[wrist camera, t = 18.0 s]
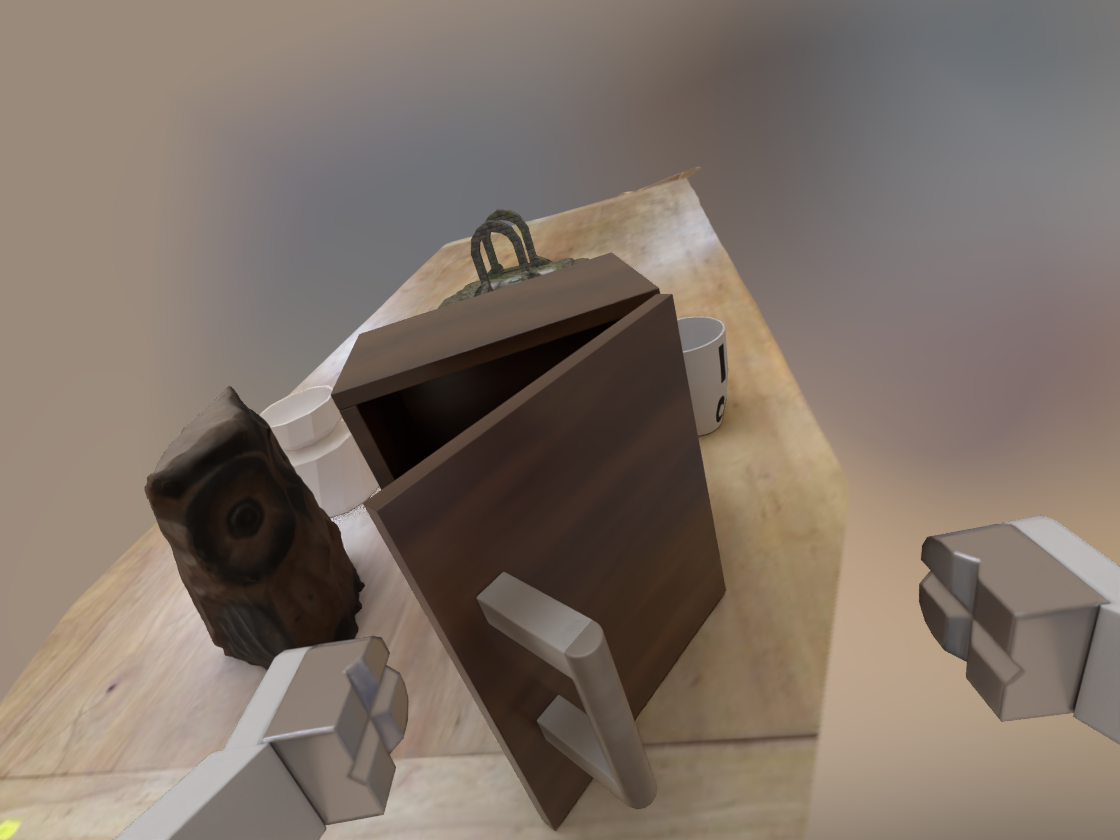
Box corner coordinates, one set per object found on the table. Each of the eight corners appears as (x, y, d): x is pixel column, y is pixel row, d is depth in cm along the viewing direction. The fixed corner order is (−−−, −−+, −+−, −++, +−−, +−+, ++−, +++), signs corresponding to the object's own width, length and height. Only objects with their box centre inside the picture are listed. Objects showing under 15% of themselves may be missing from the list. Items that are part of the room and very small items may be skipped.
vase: (303, 497, 67) (250, 412, 61) (372, 462, 70) (327, 378, 64) (313, 531, 60) (254, 439, 54) (389, 490, 63) (340, 399, 57)
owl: (345, 552, 55) (234, 373, 45) (420, 595, 47) (304, 389, 37) (220, 651, 48) (57, 463, 38) (283, 724, 39) (95, 507, 30)
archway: (616, 264, 116) (595, 173, 107) (617, 324, 87) (590, 206, 78) (459, 303, 123) (428, 221, 114) (413, 371, 94) (367, 267, 85)
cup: (743, 437, 53) (730, 343, 49) (658, 450, 55) (638, 361, 50) (731, 396, 60) (719, 309, 55) (656, 409, 62) (638, 326, 57)
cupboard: (715, 581, 40) (659, 287, 29) (474, 663, 39) (329, 395, 29) (668, 500, 49) (612, 252, 38) (470, 566, 48) (358, 334, 38)
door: (811, 625, 35) (785, 295, 24) (646, 919, 25) (485, 573, 14) (713, 585, 39) (656, 293, 29) (541, 818, 29) (361, 502, 19)
